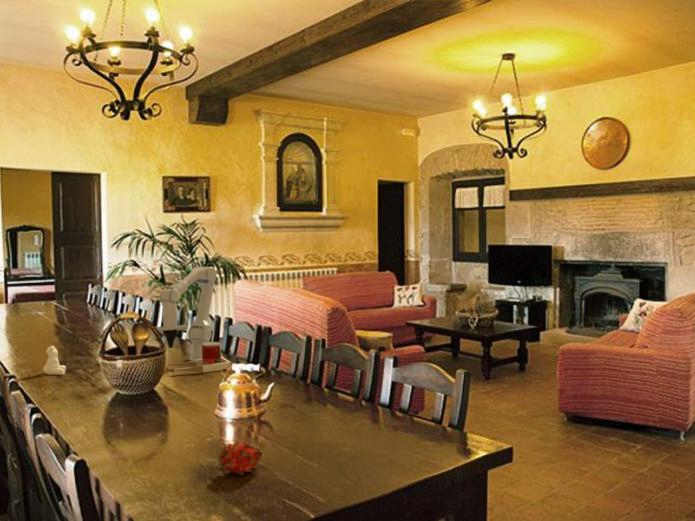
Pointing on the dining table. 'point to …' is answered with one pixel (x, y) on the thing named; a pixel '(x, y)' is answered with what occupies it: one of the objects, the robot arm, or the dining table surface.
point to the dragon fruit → (239, 458)
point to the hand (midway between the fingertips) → (170, 347)
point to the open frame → (214, 365)
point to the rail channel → (185, 368)
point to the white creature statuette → (53, 363)
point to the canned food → (211, 353)
